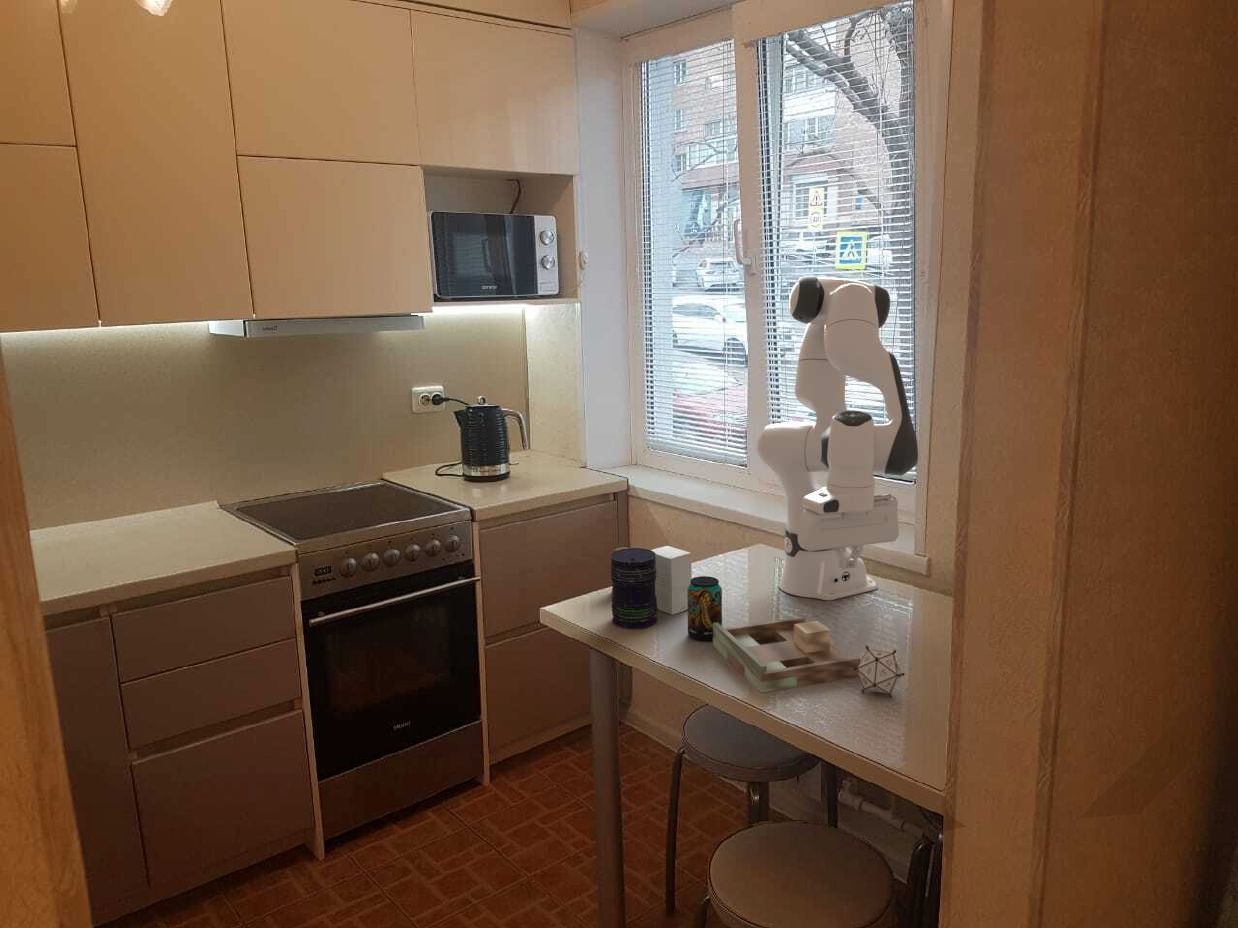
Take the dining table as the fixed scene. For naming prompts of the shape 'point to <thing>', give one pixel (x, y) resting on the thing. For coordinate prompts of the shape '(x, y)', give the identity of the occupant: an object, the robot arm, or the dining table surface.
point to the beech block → (811, 636)
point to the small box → (672, 579)
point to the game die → (878, 671)
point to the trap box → (779, 656)
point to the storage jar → (634, 588)
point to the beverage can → (704, 607)
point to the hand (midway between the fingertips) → (847, 567)
